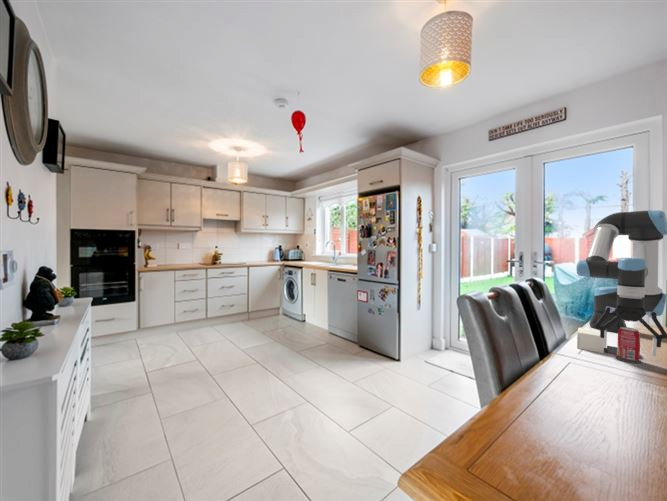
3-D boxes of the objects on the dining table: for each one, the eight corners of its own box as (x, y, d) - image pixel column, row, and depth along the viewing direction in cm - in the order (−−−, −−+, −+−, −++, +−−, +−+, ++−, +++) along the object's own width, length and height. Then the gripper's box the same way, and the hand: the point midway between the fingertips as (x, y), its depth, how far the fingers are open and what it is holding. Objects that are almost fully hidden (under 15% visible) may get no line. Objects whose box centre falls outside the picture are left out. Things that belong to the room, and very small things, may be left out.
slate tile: (606, 350, 126) (606, 345, 126) (636, 355, 120) (636, 350, 120) (607, 353, 122) (607, 349, 122) (638, 359, 116) (638, 354, 116)
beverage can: (629, 356, 117) (630, 326, 117) (644, 362, 111) (645, 331, 110) (612, 355, 117) (613, 326, 117) (626, 361, 111) (627, 330, 111)
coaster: (615, 355, 119) (615, 354, 119) (640, 359, 114) (640, 358, 114) (616, 360, 114) (616, 359, 114) (642, 365, 109) (642, 364, 109)
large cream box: (577, 348, 127) (577, 332, 126) (578, 342, 135) (578, 327, 135) (603, 353, 121) (604, 336, 121) (602, 346, 129) (603, 331, 129)
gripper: (588, 294, 119) (586, 345, 119) (681, 302, 102) (679, 362, 103) (588, 292, 125) (586, 340, 125) (677, 300, 108) (674, 356, 108)
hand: (628, 350), depth 114 cm, fingers open, 13 cm apart
